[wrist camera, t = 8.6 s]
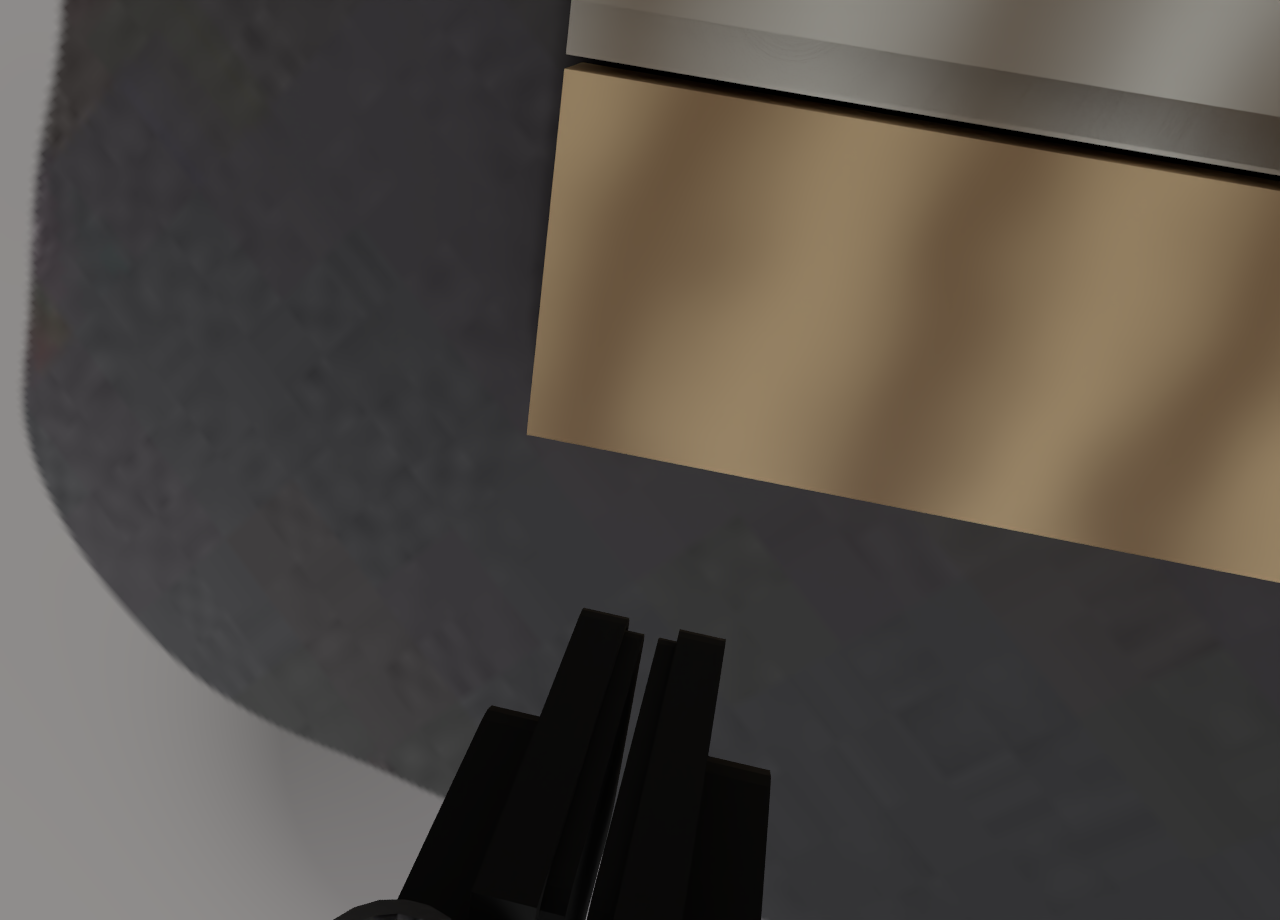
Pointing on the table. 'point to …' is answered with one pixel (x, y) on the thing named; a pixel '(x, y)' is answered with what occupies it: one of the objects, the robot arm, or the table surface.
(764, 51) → the laid plank
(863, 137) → the oak plank
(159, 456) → the table surface
